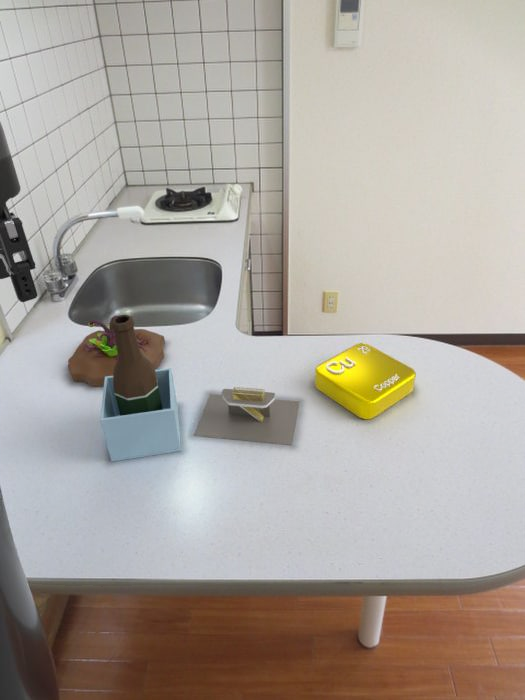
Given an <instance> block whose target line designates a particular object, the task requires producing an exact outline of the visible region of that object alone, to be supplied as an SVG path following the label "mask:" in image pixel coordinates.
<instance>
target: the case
mask: <svg viewBox="0 0 525 700" xmlns="http://www.w3.org/2000/svg"><path fill="white" fill-rule="evenodd" d="M155 372H156V376H157V381H158V386H159V392H160V397H161V402H162V408H163V410H158V411H151V412H144V413H137V414H130V415H123V416H120V413H119V409H118V405H117V401H116V397H115V393H114V386H113V376H106V377H105V381H104V386H103V390H102V399H101V408H100V417H99V422H100V426H101V430H102V433H103V436H104V440H105V443H106V447H107V451H108V455H109V457H110V460H111V461H110V462H119V461H124V460H131V459H138V458H143V457H151V456H157V455H164V454H170V453H178V452H181V451H182V449H181V432H180V419H179V418H180V417H179V406H178V400H177V393H176V388H175V382H174V376H173V370H172V367H168V368H161V369H156V370H155Z"/></svg>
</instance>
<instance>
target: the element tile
mask: <svg viewBox="0 0 525 700" xmlns="http://www.w3.org/2000/svg"><path fill="white" fill-rule="evenodd" d="M314 369H315V371H314V386H315V388H316V389H317V390H318V391H319V392H321V393H323V394H324V395H325V396H326V397H328V398H330V399H331V400H333V401H334V402H336V403H337V404H339V405H340V406H342V407H343V408H345V409H346V410H347V411H349V412H351V413H352V414H353V415H355V416H357V417H358V418H360V419H363V420H371V419H374V418H376V417H377V416H379V415H380V414H382V413H383V412H384V411H386V410H387V409H389V408H390V407H392V406H393V405H395V404H396V403H398V402H399V401H401V400H402V399H404V398H405V397H407V396H408V395H410V394H411V393H412V392H413V391H414V388H415V382H416V375H417V373H416V371H415V369H414V368H412V367H411V366H409V365H407V364H405V363H403V362H401V361H400V360H398V359H396V358H394V357H393V356H390V355H388V354H387V353H385V352H383V351H382V350H380V349H378V348H377V347H374V346H372V345H370V344H368V343H365V342H360V343H357V344H356V343H355V344H354V345H352V346H350V347H349V348H347V349H345V350H343V351H342V352H340V353H337V354H336V355H334V356H332V357H330V358H329V359H327V360H325V361H323V362H322V363H320V364H318V365H317V366H316V367H315V368H314Z"/></svg>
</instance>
